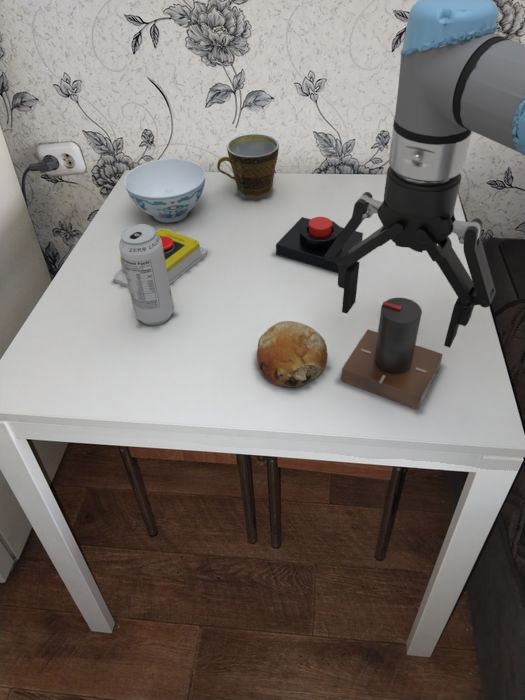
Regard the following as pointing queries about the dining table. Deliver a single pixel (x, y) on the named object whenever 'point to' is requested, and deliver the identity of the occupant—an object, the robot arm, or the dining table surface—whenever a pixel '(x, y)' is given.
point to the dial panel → (392, 386)
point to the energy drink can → (146, 274)
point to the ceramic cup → (252, 164)
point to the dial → (397, 335)
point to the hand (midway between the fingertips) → (397, 323)
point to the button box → (312, 245)
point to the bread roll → (291, 354)
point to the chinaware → (166, 187)
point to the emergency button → (173, 255)
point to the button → (320, 227)
